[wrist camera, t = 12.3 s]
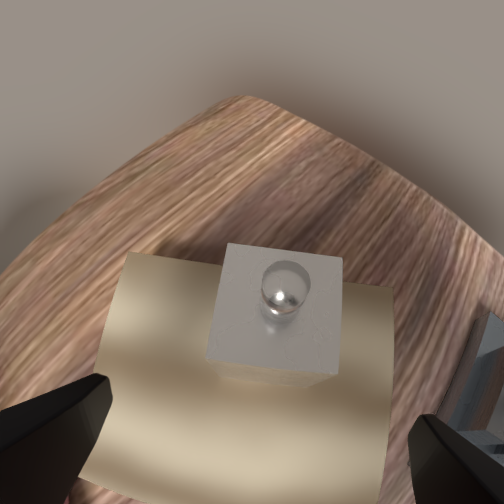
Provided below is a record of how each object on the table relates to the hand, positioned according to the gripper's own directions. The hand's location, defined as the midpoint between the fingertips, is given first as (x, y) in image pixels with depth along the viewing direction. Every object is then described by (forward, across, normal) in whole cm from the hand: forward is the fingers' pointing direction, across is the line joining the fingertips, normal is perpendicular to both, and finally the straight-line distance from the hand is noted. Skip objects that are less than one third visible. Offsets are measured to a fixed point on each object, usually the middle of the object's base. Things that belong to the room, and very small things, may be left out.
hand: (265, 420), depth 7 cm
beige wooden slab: (+8, +1, +6) cm, 10 cm away
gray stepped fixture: (+7, -18, +8) cm, 21 cm away
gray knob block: (+8, 0, +2) cm, 8 cm away
